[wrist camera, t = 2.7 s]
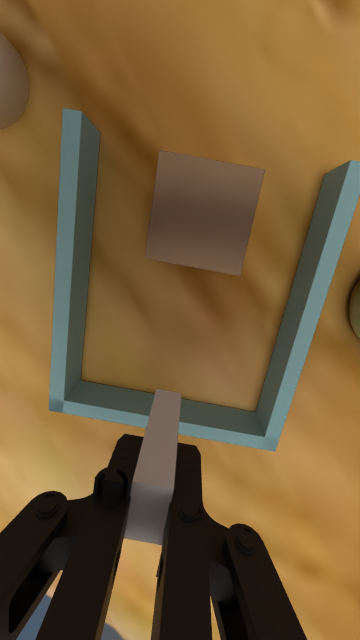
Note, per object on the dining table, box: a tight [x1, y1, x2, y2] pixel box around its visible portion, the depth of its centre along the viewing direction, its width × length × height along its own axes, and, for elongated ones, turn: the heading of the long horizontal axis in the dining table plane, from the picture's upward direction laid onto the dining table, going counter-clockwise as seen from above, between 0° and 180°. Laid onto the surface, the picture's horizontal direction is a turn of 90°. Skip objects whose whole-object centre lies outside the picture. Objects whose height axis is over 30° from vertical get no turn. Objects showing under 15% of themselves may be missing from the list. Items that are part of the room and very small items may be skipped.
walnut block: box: [145, 150, 265, 276], centre depth 19 cm, size 6×6×6 cm
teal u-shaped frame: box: [49, 108, 360, 451], centre depth 22 cm, size 22×19×4 cm
